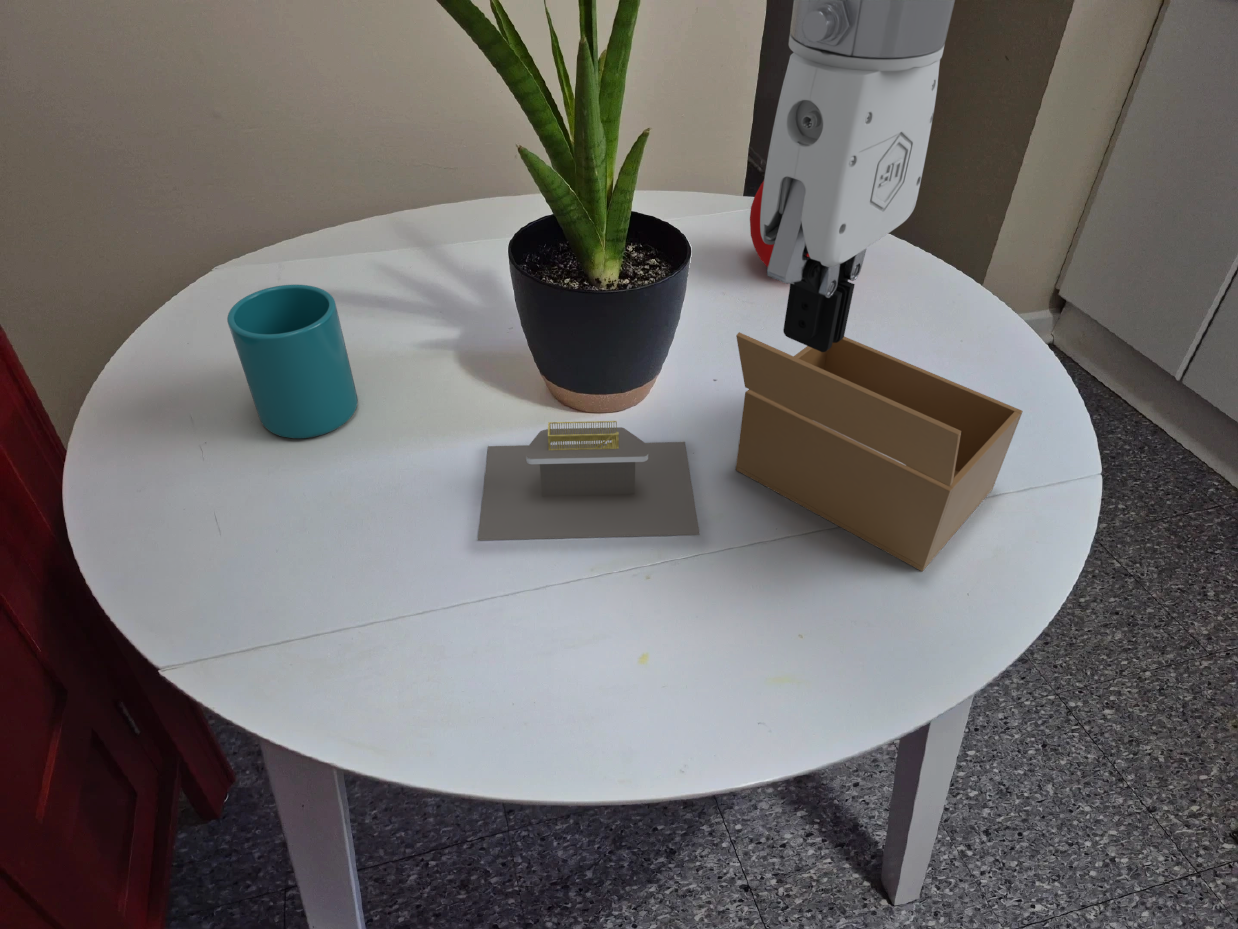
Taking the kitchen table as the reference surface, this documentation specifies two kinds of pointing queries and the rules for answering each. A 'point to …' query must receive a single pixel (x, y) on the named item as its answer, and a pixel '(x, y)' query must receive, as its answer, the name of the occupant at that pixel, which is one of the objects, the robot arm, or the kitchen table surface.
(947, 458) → the flap
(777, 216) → the robot arm
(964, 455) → the carton
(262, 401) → the cup
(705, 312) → the kitchen table surface
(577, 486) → the platform
